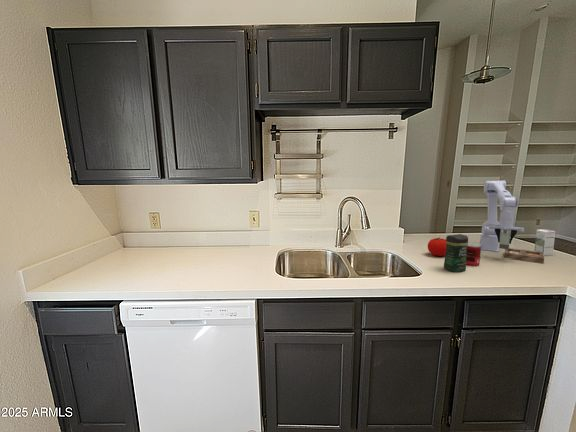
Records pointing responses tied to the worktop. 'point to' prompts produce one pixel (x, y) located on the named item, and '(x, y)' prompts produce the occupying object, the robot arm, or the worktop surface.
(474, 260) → the canned food
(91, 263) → the worktop surface
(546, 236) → the syrup box
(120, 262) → the worktop surface
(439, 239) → the tomato
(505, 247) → the grey-green block
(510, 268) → the worktop surface
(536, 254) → the socket board
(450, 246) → the coffee jar
